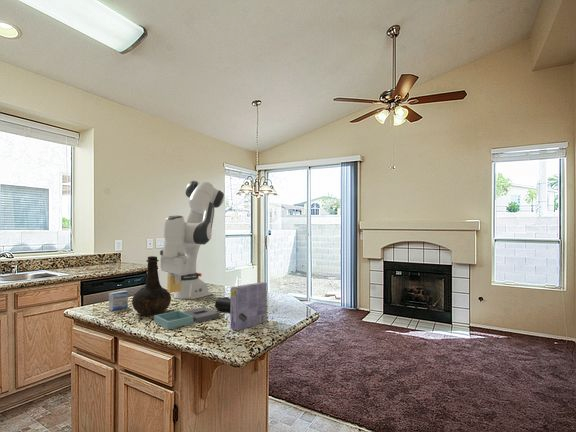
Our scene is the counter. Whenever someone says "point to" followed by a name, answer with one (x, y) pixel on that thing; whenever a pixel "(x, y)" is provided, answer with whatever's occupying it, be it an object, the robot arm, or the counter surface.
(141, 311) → the dark brown vase
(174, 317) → the parts tray
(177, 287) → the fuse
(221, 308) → the end cap
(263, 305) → the cake pan box
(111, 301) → the medicine box
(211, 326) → the counter surface
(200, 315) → the socket block
